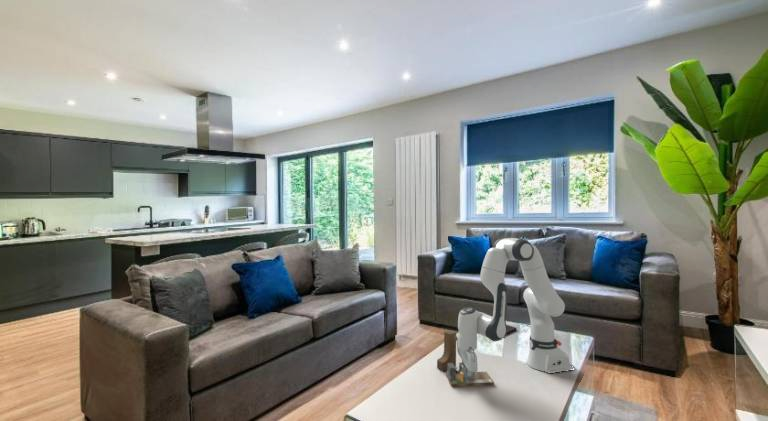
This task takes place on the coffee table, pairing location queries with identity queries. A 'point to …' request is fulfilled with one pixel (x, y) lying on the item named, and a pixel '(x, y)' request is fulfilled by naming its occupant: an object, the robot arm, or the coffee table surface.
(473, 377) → the block
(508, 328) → the hardcover book
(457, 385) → the bench
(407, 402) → the coffee table surface
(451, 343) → the wooden block
